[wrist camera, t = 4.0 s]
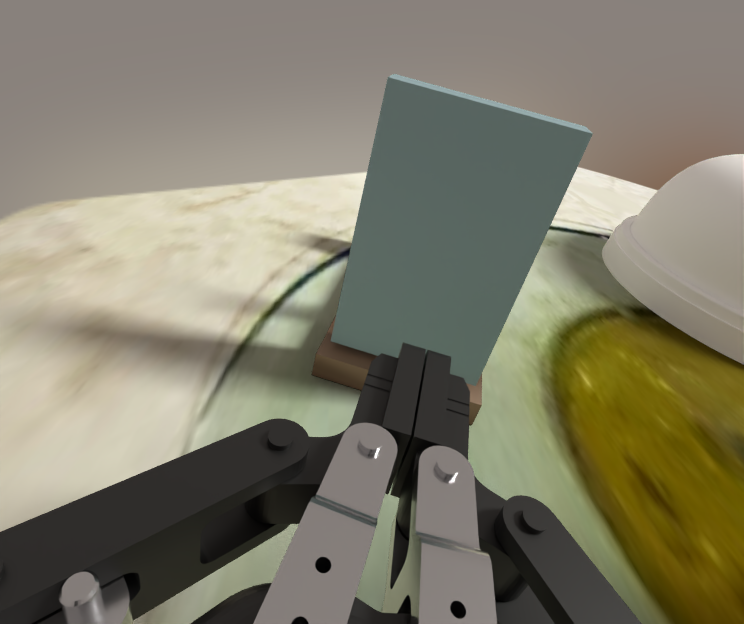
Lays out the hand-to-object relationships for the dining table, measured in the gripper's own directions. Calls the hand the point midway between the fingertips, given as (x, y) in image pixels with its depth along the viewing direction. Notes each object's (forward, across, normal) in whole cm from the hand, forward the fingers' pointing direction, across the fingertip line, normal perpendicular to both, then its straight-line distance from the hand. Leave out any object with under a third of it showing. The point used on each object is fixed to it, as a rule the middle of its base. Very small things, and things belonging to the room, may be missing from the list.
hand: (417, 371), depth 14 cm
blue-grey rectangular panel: (+11, 0, +6) cm, 13 cm away
